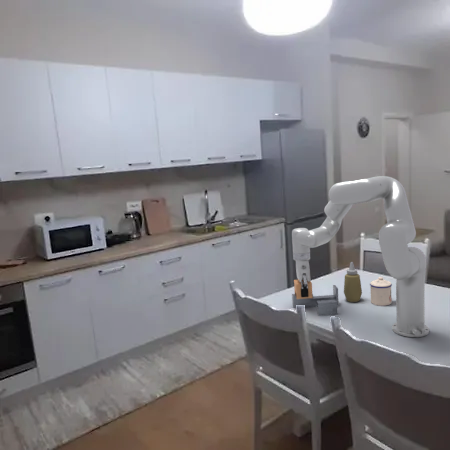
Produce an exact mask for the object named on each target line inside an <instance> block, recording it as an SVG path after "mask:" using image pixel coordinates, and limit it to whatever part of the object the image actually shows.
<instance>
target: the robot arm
mask: <svg viewBox="0 0 450 450" xmlns="http://www.w3.org/2000/svg"><path fill="white" fill-rule="evenodd" d="M328 198H329V200H328V203H326V205H325V206H324V210H323V211H324V213H325V215H326V218H325V220H324V221H323V222H322V224H321V225H320V226H319V227H316V228H313V229H308V228H306V227H298V228H296V227H295V228H294V229H292V230H291V243H292V260H293V261H295V270H296V272H295V273H296V279H297V280H299V282H301V297H308V296H309V295H308V284H307V280H308V281H309V282H310V281H311V270H310V268H311V267H310V263H309V262H310V260H311V248H312V249H313V248H317V247H319V246H322V245H325V244H327V243H329V242H330V241H331V240H332V239H333V238H334V237H335V235H336V234H337V233H338V232H339V230H340V227H341V225H342V222H343V219H344V218H345V217H346V215H347V213H349V211H350V210H351V209H352V207H353V206H354V205H356V204H365V203H371V202H375V201H378V200H383V210H384V215H385V218H386V223H385V224H384V225H382V226H381V228H380V229H379V232H378V245H379V248H380V252H381V257H382V260H383V263H384V267H385V269H386V271H387V273H388V275H389V276H390V277H391V278H392V279H395V280H396V281H395V282H396V283H395V284H396V286H395V291H396V292H395V295H396V296H395V297H396V298H395V300H396V306H395V307H396V310H395V311H396V322H395V323H393V324H392V326H391V327H392V331H393V332H394V333H396V334H397V335H400V336H404V337H408V338H422V337H426V336H427V335H429V334H430V327H428V326H427V325H426V324H425V323H426V322H425V321H426V320H425V318H426V317H425V309H426V307H425V285H426V283H425V282H426V281H425V280H426V279H425V278H426V273H427V272H426V271H427V257H426V255H425V252H423V251H422V250H421V249H419V248H418V247H415V246H409V245H408V244H411V243H412V242H413V241H414V240H415V239H416V236H417V231H416V227H415V224H414V220H413V215H412V211H411V208H410V204H409V201H408V196H407V192H406V189H405V187H404V186H403V184H402V183H401V182H400V181H399V180H398V179H396V178H394V177H391V176H387V175H380V176H379V175H378V176H373V177H368V178H363V179H358V180H346V181H341V182H337V183H334V184H333V185H332V186H331V187H330V189H329V190H328ZM302 280H303V282H302ZM311 282H312V281H311ZM302 283H304V284H302Z"/></svg>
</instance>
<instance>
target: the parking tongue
mask: <svg viewBox="0 0 450 450" xmlns="http://www.w3.org/2000/svg"><path fill="white" fill-rule="evenodd" d="M316 313H317V315H318V316H332V315H333V316H334V315H338V306H337V301H336V300H321V301H317V306H316Z"/></svg>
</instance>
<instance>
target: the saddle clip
mask: <svg viewBox="0 0 450 450" xmlns="http://www.w3.org/2000/svg"><path fill="white" fill-rule="evenodd" d="M302 282H303V280H302ZM293 283H294V284H293V287H294V288H293V289H294V291H293V292H294V294H296V298H297V299H306V298H313V296H314V295H313V296H312V294H313V283H312V281H310V282H309V281H308V280H307V284H308V295H309V296H308V297H301V282H299V280H298V279H294V280H293ZM302 284H304V283H302Z"/></svg>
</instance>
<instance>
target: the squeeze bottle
mask: <svg viewBox="0 0 450 450" xmlns="http://www.w3.org/2000/svg"><path fill="white" fill-rule="evenodd" d="M343 283H344V284H343V294H344V297H345V299H346V301H348V302H349V303H350V302H351V303H357V302H360V301H361V297H362V296H363V295H362V294H363V290H362V283H361V275H360V274H359V273H358V269H356V268H355V264H354V262H353V261H351V262H349V267H348V269H346V274H345V275H344V282H343Z"/></svg>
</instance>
